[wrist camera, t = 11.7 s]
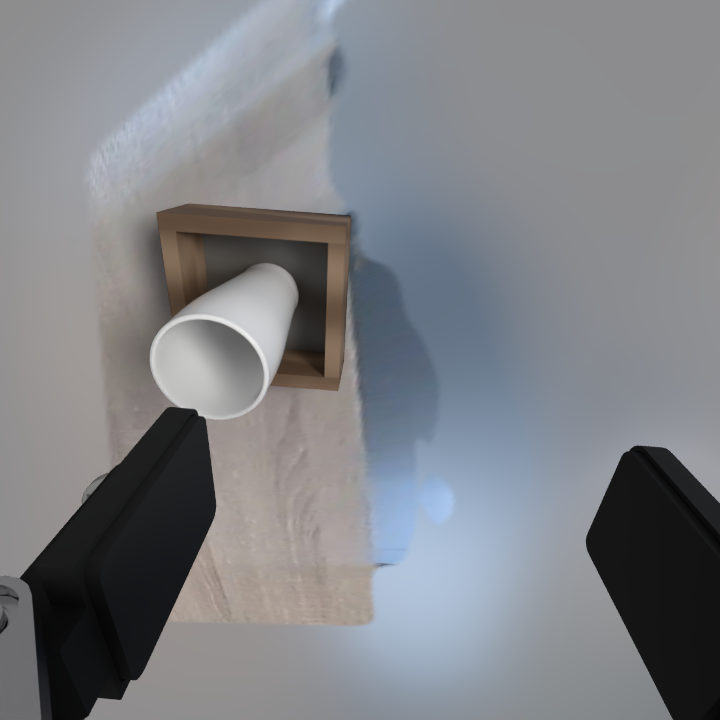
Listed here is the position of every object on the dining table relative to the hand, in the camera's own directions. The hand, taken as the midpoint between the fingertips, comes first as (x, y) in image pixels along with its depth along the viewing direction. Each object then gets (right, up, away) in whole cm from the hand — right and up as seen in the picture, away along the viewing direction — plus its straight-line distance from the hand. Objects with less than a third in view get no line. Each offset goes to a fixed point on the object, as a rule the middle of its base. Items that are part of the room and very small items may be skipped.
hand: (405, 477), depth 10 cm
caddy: (-9, +9, +28) cm, 30 cm away
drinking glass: (-9, +9, +27) cm, 30 cm away
